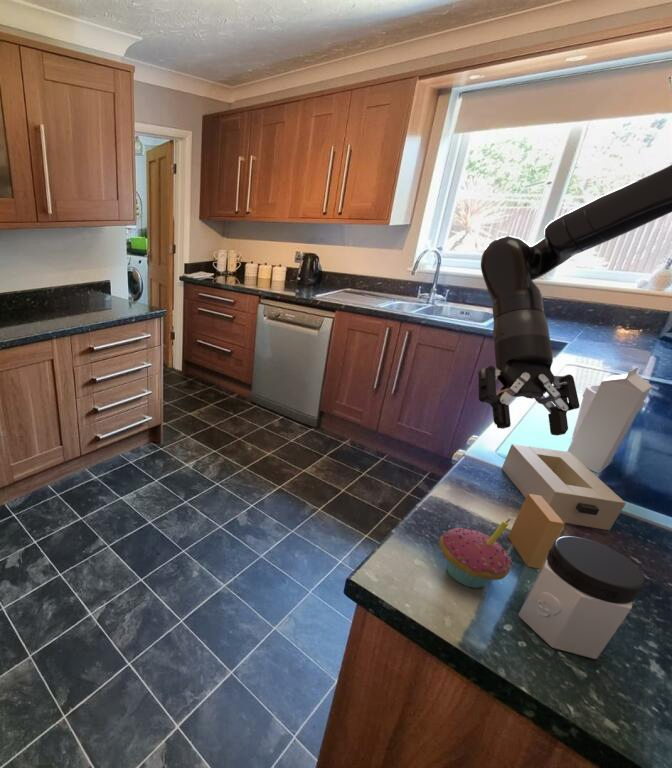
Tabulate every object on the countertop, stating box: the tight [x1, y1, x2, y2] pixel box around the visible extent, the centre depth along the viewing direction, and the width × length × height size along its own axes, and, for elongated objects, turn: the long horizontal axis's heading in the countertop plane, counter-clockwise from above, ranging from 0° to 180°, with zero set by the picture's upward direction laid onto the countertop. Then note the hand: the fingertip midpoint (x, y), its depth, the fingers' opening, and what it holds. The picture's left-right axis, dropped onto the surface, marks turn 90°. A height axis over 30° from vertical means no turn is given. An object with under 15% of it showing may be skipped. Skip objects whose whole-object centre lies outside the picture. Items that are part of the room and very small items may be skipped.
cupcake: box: [438, 518, 513, 589], centre depth 61 cm, size 9×8×12 cm
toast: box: [507, 494, 566, 570], centre depth 66 cm, size 2×6×9 cm, turn 164°
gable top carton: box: [571, 384, 647, 440], centre depth 96 cm, size 10×9×13 cm
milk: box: [566, 365, 653, 474], centre depth 87 cm, size 6×6×22 cm
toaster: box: [501, 443, 626, 531], centre depth 79 cm, size 17×10×6 cm, turn 165°
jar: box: [517, 535, 646, 660], centre depth 54 cm, size 9×8×12 cm
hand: (531, 431), depth 70 cm, fingers open, 8 cm apart
